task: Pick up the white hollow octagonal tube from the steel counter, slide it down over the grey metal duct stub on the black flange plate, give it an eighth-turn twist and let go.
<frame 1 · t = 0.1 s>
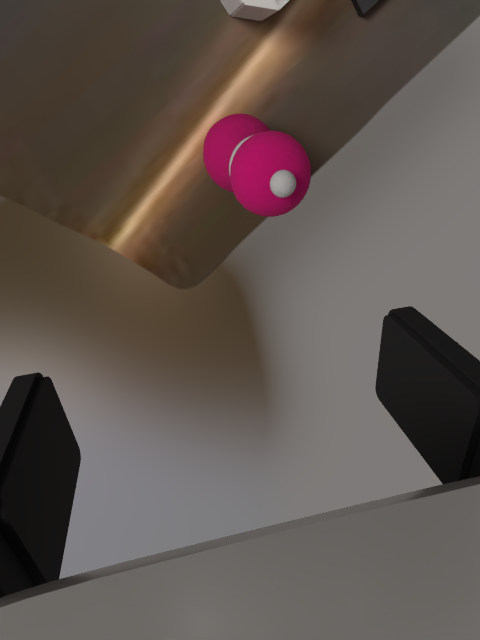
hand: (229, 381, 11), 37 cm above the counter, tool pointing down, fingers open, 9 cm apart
pepper mill: (231, 149, 43), on the counter
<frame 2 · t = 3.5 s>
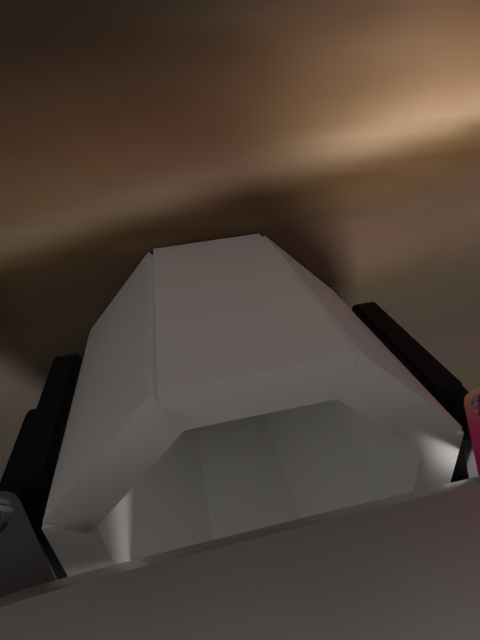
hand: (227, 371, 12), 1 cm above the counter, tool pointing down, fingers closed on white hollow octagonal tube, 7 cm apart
white hollow octagonal tube: (221, 353, 13), on the counter, touching gripper
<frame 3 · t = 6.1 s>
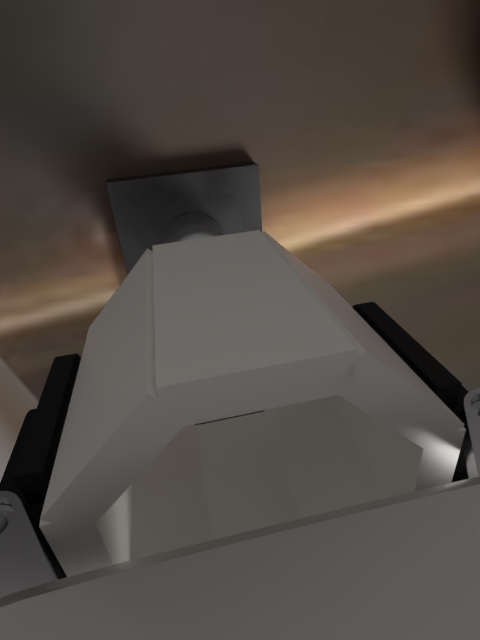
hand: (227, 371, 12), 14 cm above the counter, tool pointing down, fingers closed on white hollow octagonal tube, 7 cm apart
duct stub: (192, 241, 24), on the counter
white hollow octagonal tube: (221, 350, 13), point 13 cm above the counter, touching gripper
when the fingers open (3 cm above the counter, at t = 8.7 s): white hollow octagonal tube stays where it is, resting on duct stub.
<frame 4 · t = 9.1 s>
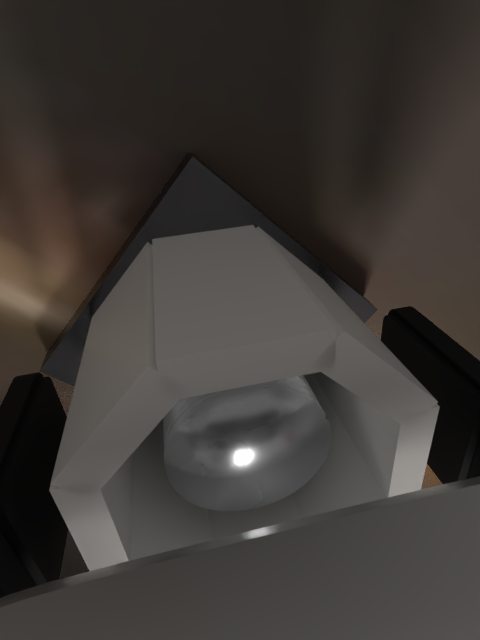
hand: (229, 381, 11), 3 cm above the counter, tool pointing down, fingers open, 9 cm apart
duct stub: (213, 323, 14), on the counter
white hollow octagonal tube: (217, 340, 13), point 1 cm above the counter, touching duct stub
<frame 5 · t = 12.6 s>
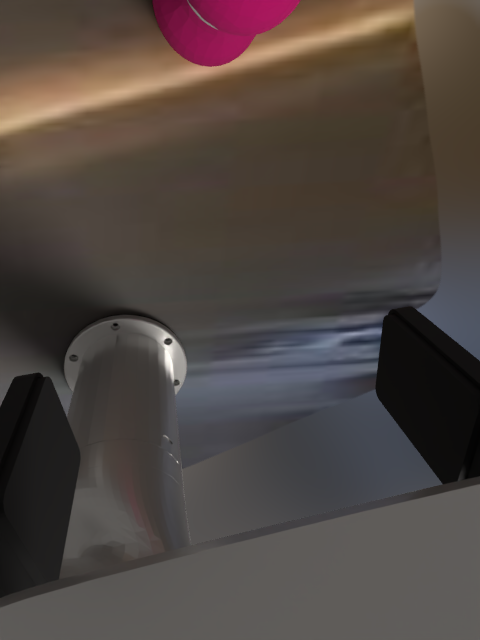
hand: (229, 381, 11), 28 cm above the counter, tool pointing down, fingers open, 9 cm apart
pepper mill: (200, 12, 30), on the counter
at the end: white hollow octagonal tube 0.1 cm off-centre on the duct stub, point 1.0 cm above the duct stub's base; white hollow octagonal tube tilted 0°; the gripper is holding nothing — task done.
